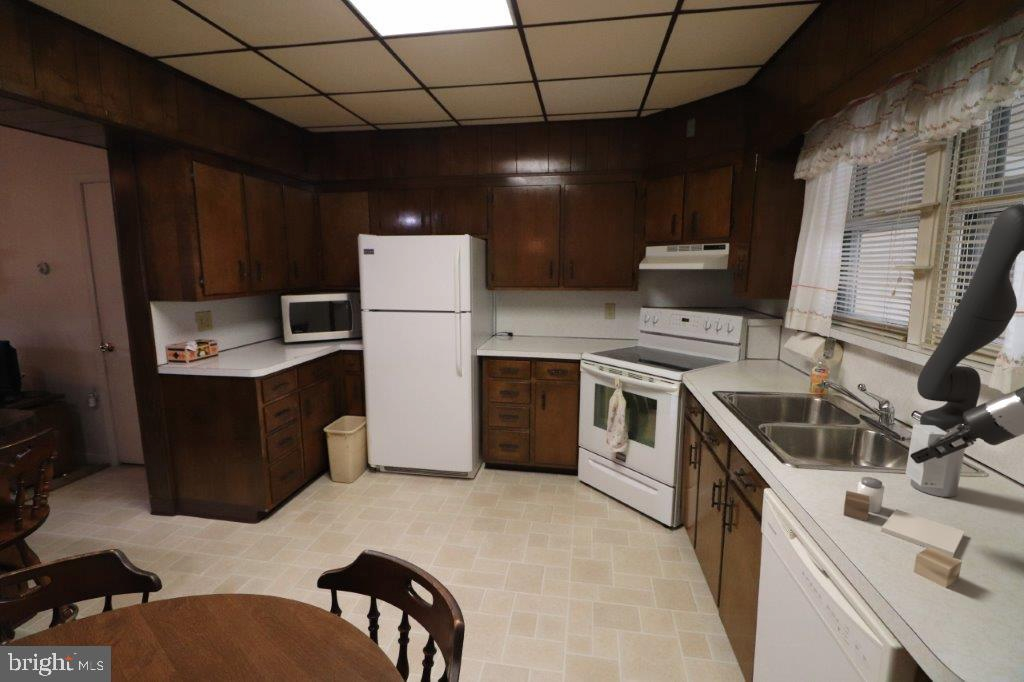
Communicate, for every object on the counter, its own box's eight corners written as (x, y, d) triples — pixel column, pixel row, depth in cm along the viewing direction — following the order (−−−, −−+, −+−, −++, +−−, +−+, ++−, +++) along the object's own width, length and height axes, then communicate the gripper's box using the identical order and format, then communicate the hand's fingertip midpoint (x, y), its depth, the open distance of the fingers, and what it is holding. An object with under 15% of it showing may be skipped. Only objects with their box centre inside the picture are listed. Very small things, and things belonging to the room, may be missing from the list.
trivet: (895, 512, 114) (896, 509, 113) (963, 535, 104) (964, 531, 104) (881, 531, 106) (881, 527, 106) (953, 557, 97) (953, 552, 97)
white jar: (859, 499, 120) (862, 474, 118) (883, 508, 116) (887, 481, 115) (852, 506, 117) (856, 480, 115) (877, 515, 113) (881, 487, 111)
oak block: (926, 565, 95) (929, 547, 94) (958, 580, 90) (961, 561, 90) (913, 572, 93) (916, 554, 92) (945, 588, 88) (949, 569, 88)
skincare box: (944, 489, 100) (953, 435, 98) (920, 487, 101) (929, 433, 99) (926, 475, 106) (934, 424, 103) (904, 474, 107) (912, 423, 104)
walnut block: (844, 507, 116) (846, 490, 115) (866, 513, 114) (869, 495, 113) (843, 515, 113) (845, 498, 112) (866, 521, 110) (869, 503, 109)
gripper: (994, 394, 98) (913, 431, 109) (980, 409, 89) (895, 447, 101) (1026, 426, 95) (940, 460, 106) (1015, 444, 86) (923, 480, 97)
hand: (918, 454), depth 103 cm, fingers closed on skincare box, 7 cm apart
